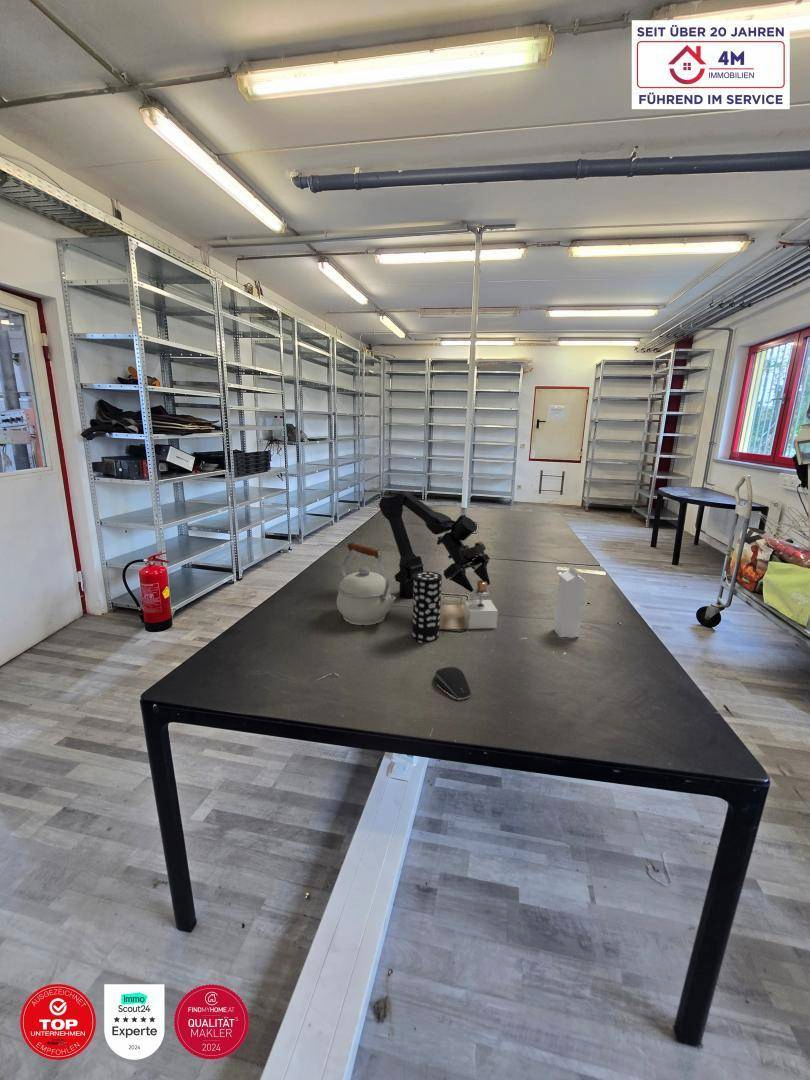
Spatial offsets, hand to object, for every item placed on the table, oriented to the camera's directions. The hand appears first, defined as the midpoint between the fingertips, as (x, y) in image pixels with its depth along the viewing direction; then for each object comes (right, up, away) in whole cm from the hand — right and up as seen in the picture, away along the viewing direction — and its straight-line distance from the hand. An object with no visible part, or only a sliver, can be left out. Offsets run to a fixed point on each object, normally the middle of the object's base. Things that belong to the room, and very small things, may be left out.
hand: (480, 587), depth 143 cm
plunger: (0, -7, +2) cm, 7 cm away
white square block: (0, -12, +3) cm, 12 cm away
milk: (+27, -15, -3) cm, 30 cm away
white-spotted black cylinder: (-18, -15, -7) cm, 24 cm away
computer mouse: (-13, -22, -32) cm, 41 cm away
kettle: (-37, -11, +5) cm, 39 cm away
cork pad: (-5, -11, +7) cm, 14 cm away
